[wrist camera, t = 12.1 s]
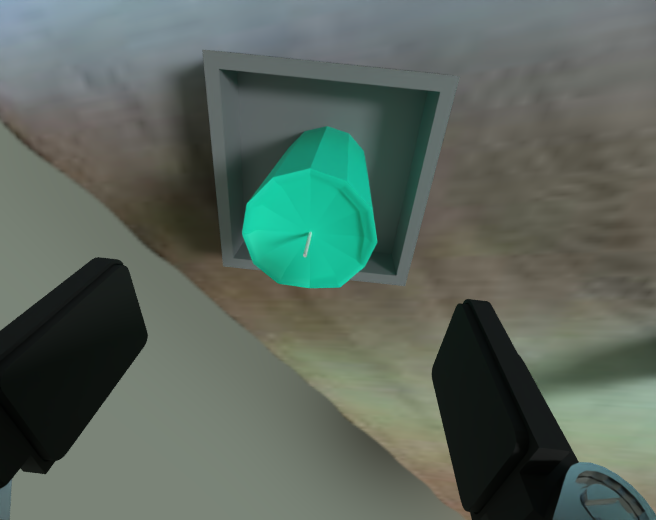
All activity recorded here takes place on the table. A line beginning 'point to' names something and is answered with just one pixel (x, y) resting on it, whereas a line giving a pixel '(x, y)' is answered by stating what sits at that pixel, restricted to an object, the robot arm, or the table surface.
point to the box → (336, 112)
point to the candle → (313, 213)
